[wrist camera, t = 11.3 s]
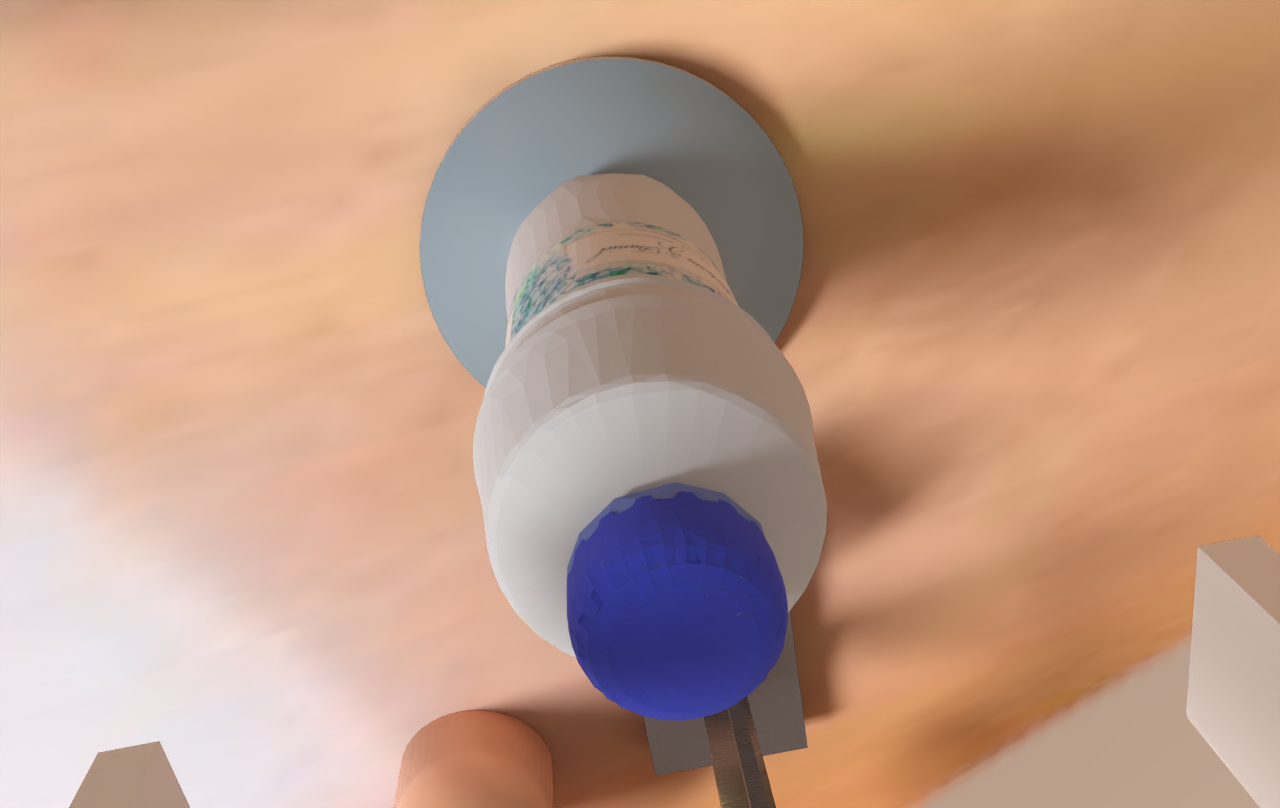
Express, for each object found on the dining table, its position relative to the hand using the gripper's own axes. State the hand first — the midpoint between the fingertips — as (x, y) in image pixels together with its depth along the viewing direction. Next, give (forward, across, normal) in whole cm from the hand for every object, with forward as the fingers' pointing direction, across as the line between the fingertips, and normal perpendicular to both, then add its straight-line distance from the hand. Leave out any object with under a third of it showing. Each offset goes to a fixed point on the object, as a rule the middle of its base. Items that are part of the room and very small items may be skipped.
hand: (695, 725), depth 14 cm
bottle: (+22, 0, 0) cm, 22 cm away
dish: (+23, 0, 0) cm, 23 cm away
